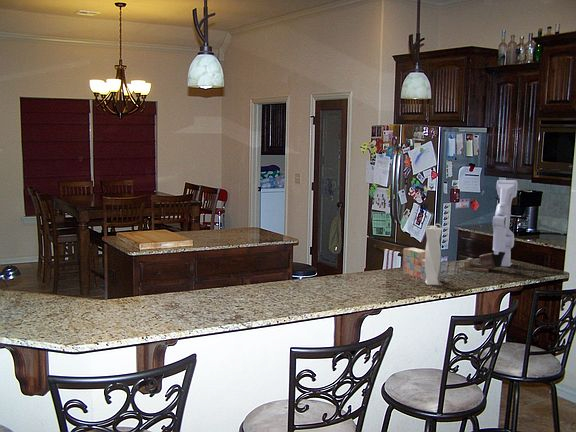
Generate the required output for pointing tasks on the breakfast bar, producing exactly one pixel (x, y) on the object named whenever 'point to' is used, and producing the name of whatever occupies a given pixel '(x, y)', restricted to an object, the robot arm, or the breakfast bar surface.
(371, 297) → the breakfast bar surface
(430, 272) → the skyscraper
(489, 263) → the box
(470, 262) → the cradle
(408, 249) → the stack of blocks
